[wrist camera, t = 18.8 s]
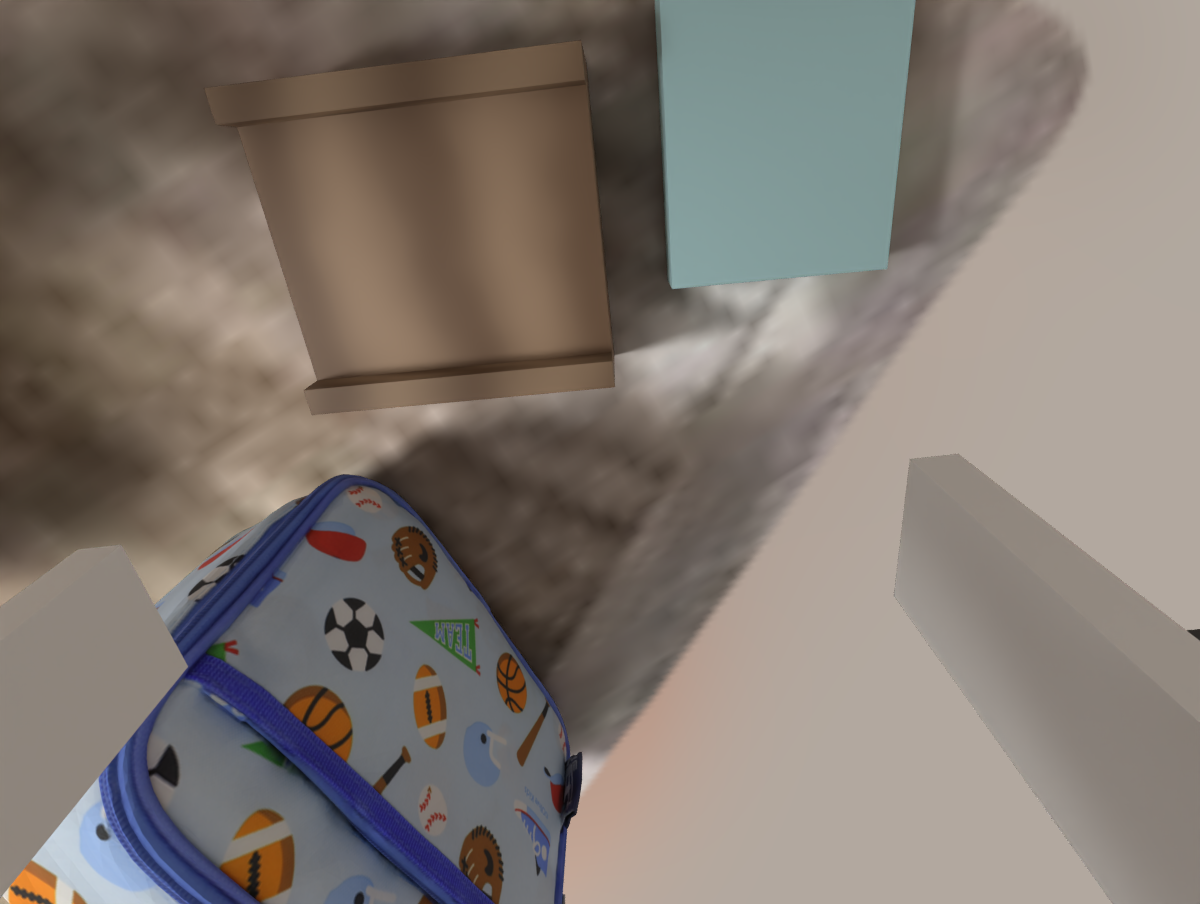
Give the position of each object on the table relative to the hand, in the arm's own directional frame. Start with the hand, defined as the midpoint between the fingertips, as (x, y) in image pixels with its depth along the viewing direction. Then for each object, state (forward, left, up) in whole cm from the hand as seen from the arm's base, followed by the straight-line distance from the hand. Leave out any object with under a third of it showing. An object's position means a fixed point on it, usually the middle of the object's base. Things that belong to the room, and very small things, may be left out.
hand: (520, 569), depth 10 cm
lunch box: (-12, -20, -22) cm, 32 cm away
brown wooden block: (-5, +4, -22) cm, 23 cm away
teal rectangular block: (+9, +8, -23) cm, 26 cm away
